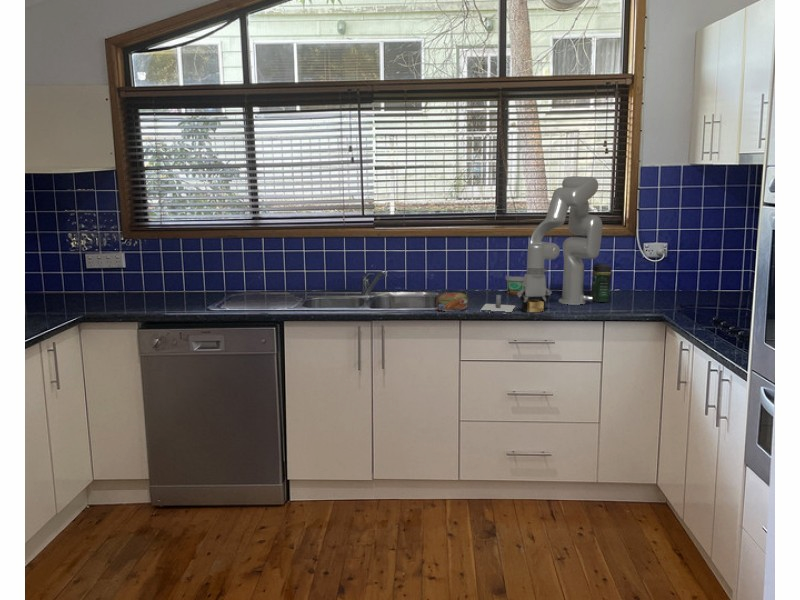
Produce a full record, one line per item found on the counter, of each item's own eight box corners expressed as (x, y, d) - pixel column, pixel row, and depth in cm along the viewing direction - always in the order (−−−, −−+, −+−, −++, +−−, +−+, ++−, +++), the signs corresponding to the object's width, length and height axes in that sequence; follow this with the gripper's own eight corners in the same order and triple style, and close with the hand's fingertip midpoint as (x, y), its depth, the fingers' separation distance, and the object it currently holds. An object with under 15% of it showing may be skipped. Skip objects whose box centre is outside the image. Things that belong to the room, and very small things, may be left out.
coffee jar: (611, 303, 332) (613, 265, 329) (594, 303, 332) (597, 265, 329) (605, 299, 342) (607, 262, 338) (589, 299, 342) (591, 262, 338)
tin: (437, 312, 311) (437, 294, 310) (435, 310, 314) (435, 292, 313) (468, 310, 315) (469, 292, 314) (466, 309, 318) (466, 291, 317)
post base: (515, 307, 322) (515, 293, 320) (511, 313, 308) (512, 298, 307) (485, 305, 325) (485, 291, 324) (480, 311, 312) (481, 297, 311)
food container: (503, 295, 350) (503, 276, 348) (504, 293, 355) (505, 274, 353) (527, 297, 346) (528, 277, 344) (529, 295, 352) (529, 275, 350)
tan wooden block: (537, 310, 317) (537, 299, 316) (543, 313, 310) (543, 302, 309) (523, 310, 315) (524, 300, 314) (529, 313, 309) (530, 302, 308)
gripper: (549, 269, 315) (547, 307, 318) (513, 270, 310) (512, 309, 314) (556, 272, 308) (554, 310, 311) (520, 273, 303) (519, 312, 307)
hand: (533, 309), depth 312 cm, fingers open, 7 cm apart
